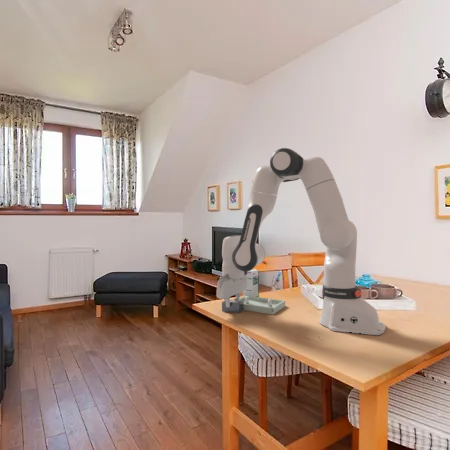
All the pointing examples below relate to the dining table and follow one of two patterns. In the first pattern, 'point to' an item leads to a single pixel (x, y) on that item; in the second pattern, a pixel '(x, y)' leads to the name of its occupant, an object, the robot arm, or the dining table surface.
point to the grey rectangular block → (233, 306)
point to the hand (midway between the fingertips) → (232, 304)
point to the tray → (262, 304)
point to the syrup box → (252, 284)
